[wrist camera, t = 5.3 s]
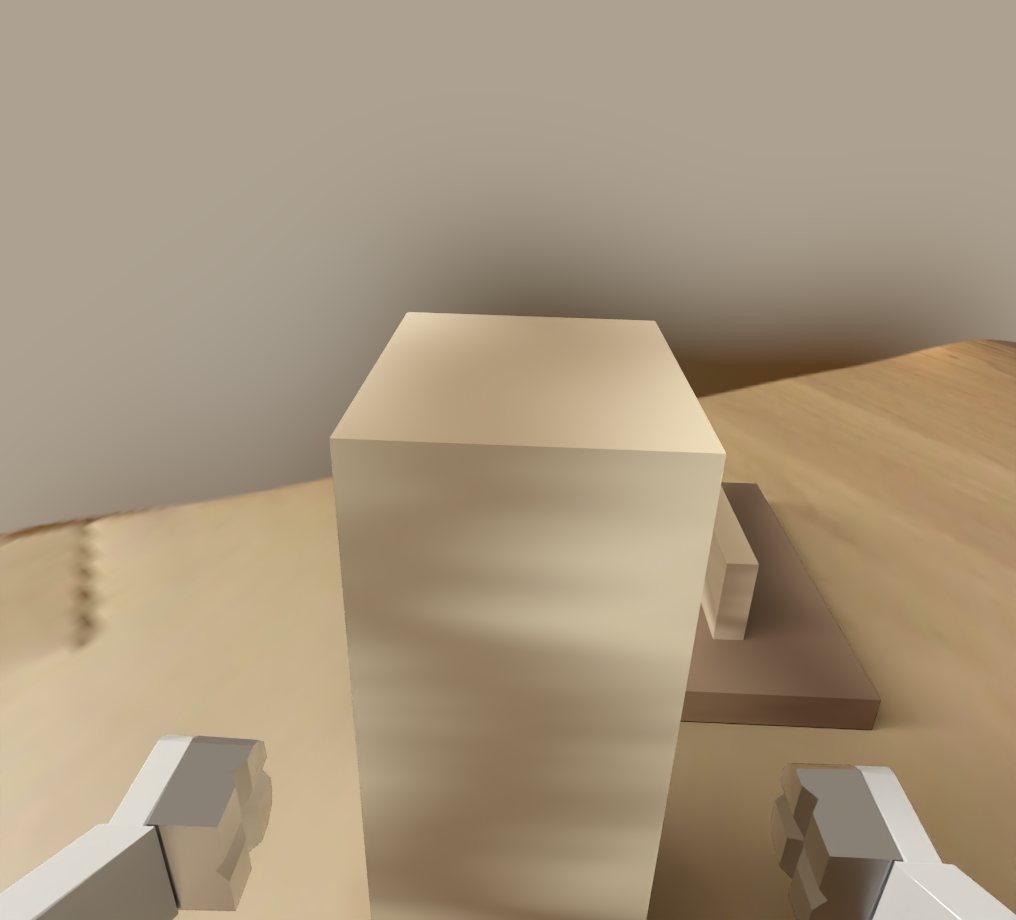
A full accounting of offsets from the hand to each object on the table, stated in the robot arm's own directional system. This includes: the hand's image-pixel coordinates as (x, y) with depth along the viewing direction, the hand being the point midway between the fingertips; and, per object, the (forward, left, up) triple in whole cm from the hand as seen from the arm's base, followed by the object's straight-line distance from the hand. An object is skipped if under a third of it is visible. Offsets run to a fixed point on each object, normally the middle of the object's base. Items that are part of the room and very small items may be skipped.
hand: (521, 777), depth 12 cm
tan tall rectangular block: (0, -1, -8) cm, 8 cm away
